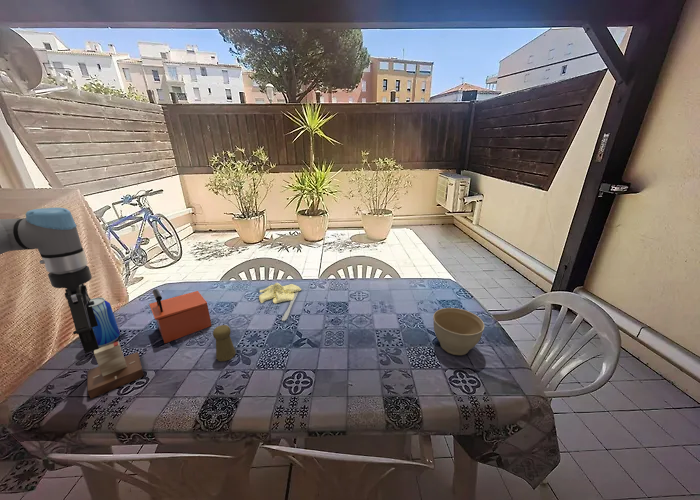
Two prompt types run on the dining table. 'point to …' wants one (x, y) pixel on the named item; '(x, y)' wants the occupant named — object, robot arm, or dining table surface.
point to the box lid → (175, 304)
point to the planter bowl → (457, 330)
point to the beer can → (104, 322)
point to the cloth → (279, 293)
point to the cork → (223, 343)
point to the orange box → (184, 323)
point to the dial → (110, 358)
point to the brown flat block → (114, 376)
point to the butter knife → (289, 307)
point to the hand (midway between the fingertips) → (92, 338)
